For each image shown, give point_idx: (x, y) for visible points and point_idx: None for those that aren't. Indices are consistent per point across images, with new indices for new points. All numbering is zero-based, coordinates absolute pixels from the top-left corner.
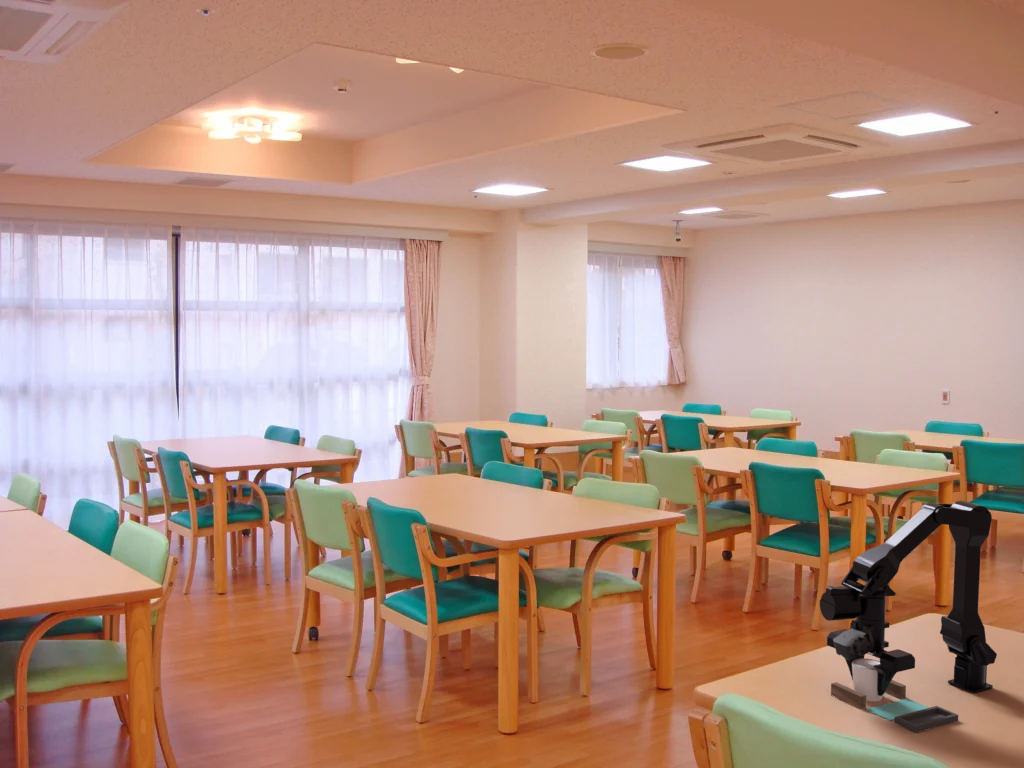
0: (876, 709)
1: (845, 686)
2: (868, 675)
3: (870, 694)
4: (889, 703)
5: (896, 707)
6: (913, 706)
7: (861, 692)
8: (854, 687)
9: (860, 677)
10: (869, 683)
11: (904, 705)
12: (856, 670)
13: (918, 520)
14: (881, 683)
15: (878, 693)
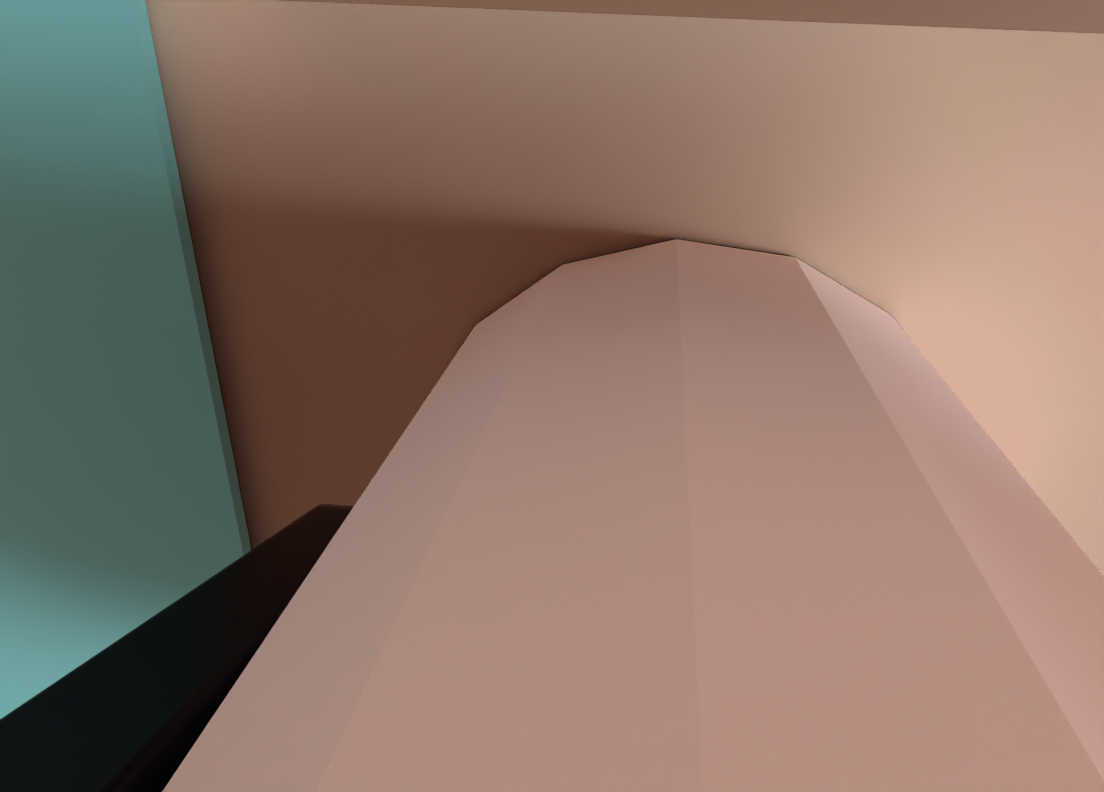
0: (23, 40)
1: (1048, 11)
2: (248, 762)
3: (432, 391)
4: (224, 495)
5: (34, 449)
6: (24, 659)
7: (618, 305)
8: (896, 367)
9: (611, 541)
10: (346, 540)
11: (87, 601)
12: (909, 780)
13: None
14: (24, 704)
15: (325, 520)
